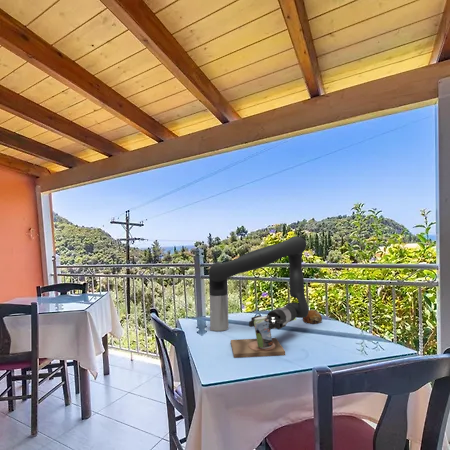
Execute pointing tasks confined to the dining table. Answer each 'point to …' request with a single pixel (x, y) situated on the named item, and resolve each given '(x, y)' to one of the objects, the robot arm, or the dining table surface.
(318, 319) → the bread roll
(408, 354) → the dining table surface
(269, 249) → the robot arm
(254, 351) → the serving board
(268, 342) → the beverage can
